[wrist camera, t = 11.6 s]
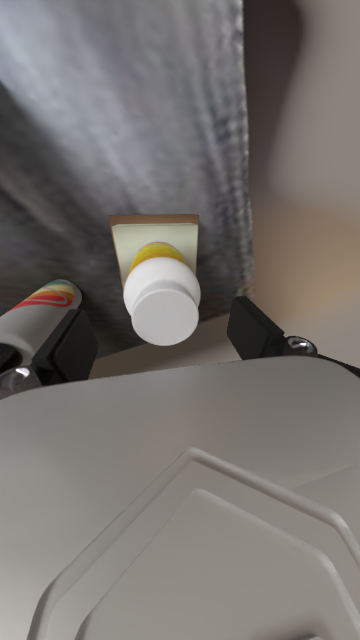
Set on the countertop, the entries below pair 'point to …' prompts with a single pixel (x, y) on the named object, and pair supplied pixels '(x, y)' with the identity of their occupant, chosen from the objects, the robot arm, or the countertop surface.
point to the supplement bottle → (162, 294)
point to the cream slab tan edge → (153, 236)
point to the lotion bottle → (34, 322)
